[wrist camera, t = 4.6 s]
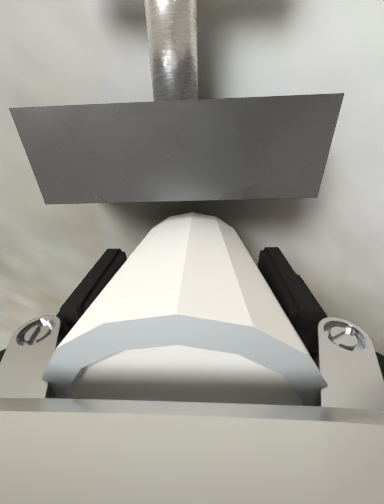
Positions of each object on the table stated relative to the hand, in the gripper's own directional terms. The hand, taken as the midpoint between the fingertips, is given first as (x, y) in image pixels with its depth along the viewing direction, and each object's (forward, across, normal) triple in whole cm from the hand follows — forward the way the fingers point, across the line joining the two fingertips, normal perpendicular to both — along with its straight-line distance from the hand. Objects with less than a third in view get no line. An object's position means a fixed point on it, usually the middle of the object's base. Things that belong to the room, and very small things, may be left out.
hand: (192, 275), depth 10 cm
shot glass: (+1, 0, 0) cm, 1 cm away
